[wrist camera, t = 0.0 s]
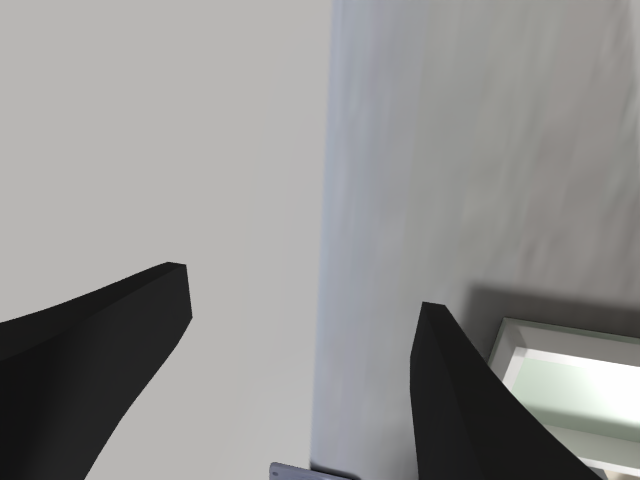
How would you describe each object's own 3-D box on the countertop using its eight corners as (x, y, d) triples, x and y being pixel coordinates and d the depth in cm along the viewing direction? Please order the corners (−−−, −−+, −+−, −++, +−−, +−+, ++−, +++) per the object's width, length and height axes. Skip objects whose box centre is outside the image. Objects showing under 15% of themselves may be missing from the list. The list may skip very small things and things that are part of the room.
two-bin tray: (620, 512, 26) (641, 553, 24) (448, 474, 28) (452, 509, 26) (740, 354, 19) (784, 391, 17) (503, 317, 21) (516, 346, 19)
